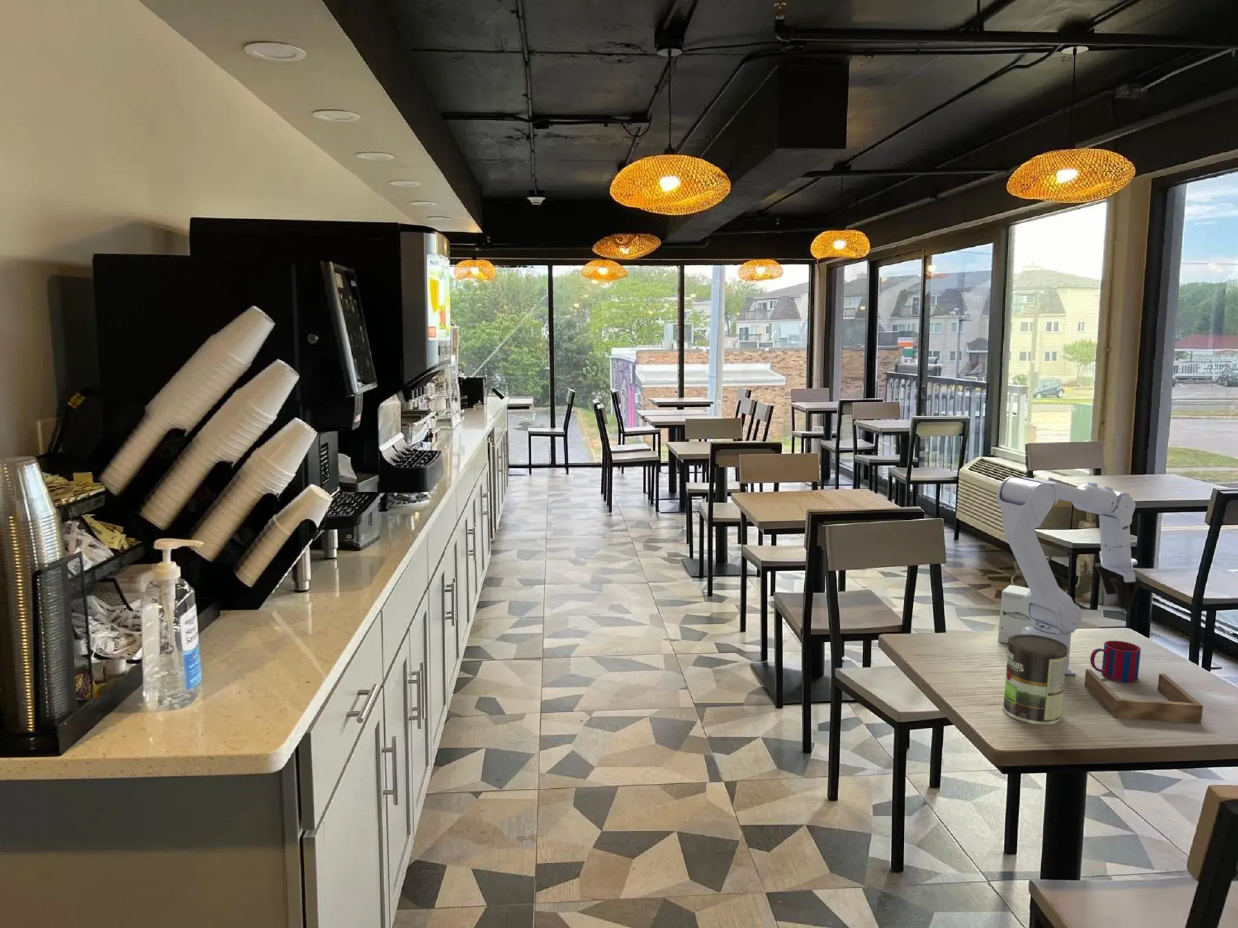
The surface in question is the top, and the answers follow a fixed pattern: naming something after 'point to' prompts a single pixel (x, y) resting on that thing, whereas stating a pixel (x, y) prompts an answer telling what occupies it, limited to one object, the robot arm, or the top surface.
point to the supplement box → (1013, 612)
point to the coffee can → (1035, 679)
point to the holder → (1148, 702)
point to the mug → (1119, 661)
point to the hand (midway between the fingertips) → (1118, 600)
